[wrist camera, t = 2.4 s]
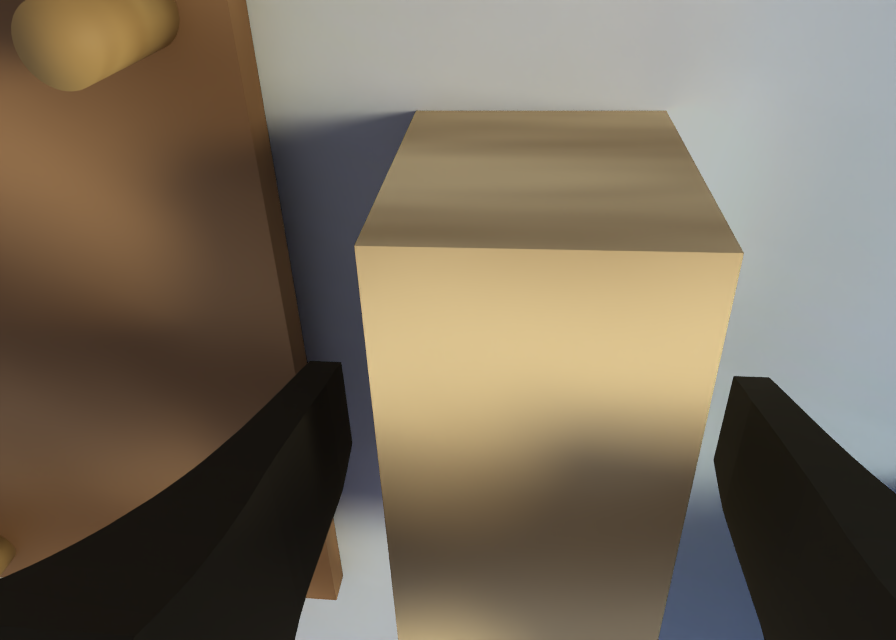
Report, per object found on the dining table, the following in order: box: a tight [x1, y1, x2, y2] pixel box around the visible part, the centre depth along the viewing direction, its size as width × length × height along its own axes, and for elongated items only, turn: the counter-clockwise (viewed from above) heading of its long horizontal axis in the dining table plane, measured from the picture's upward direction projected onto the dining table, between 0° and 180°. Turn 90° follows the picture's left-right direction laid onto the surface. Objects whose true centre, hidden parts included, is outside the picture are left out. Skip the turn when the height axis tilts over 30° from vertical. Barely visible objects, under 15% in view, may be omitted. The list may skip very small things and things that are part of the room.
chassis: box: [0, 0, 343, 600], centre depth 15 cm, size 16×11×3 cm
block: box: [354, 111, 744, 640], centre depth 13 cm, size 10×4×6 cm, turn 2°
